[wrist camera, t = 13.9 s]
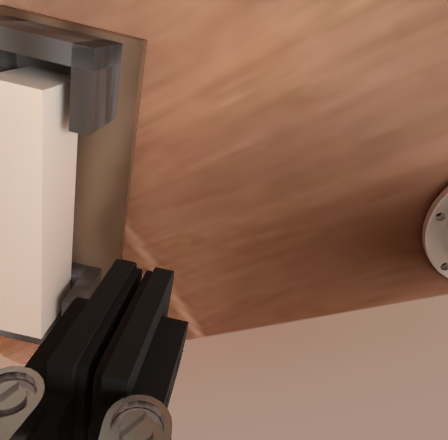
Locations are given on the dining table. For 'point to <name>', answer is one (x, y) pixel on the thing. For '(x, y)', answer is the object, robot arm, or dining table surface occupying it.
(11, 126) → the slat
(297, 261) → the dining table surface
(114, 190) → the end cap frame
